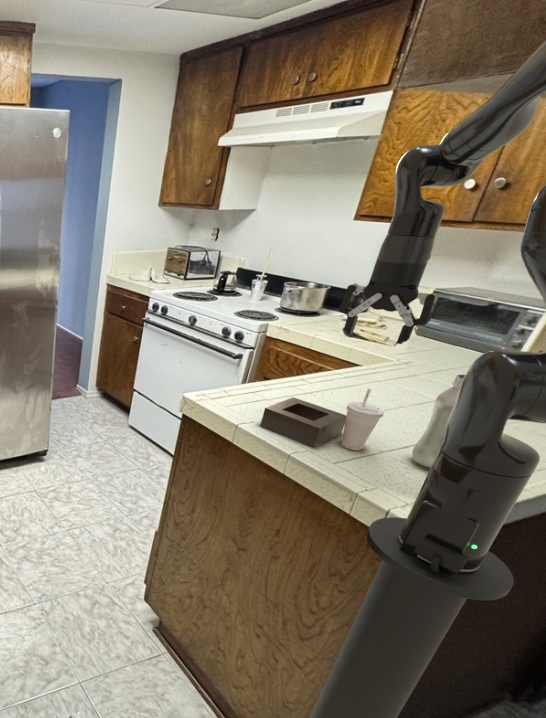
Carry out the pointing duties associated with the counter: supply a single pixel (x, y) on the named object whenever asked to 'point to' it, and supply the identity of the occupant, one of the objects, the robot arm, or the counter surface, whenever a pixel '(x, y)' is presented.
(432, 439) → the plastic bottle
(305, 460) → the counter surface
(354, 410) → the smoothie
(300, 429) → the holder
